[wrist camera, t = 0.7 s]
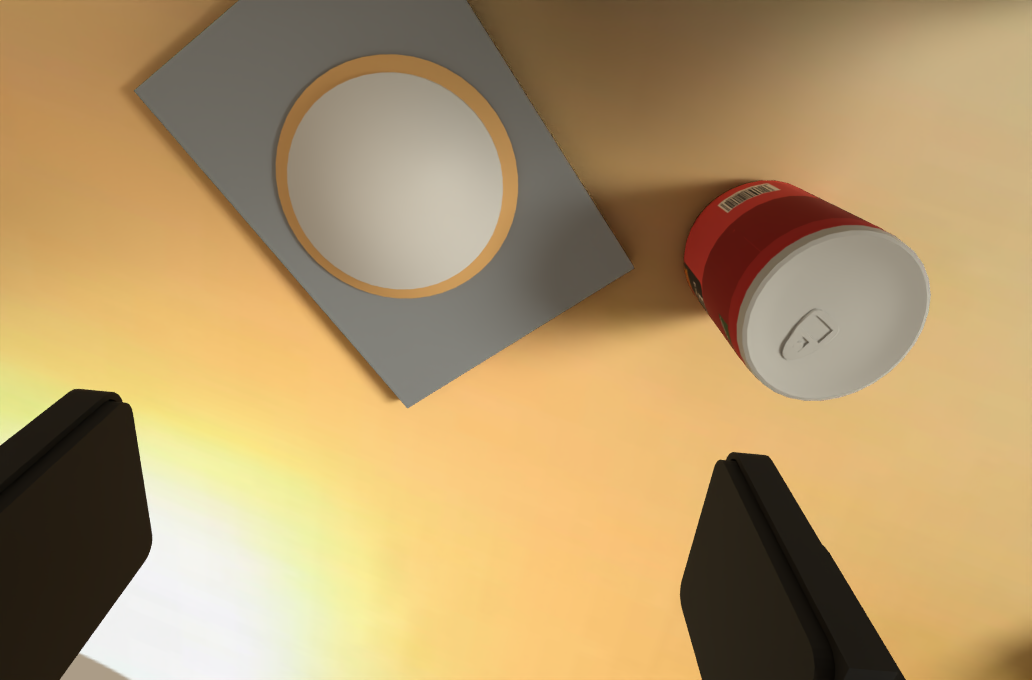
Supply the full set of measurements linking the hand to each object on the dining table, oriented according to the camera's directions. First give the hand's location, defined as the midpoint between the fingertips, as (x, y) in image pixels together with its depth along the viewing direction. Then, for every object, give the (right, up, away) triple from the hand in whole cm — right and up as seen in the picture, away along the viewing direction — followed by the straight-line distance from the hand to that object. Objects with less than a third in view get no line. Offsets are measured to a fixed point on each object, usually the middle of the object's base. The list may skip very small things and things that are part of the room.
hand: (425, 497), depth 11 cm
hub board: (-5, +11, +25) cm, 28 cm away
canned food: (+15, +8, +27) cm, 32 cm away
